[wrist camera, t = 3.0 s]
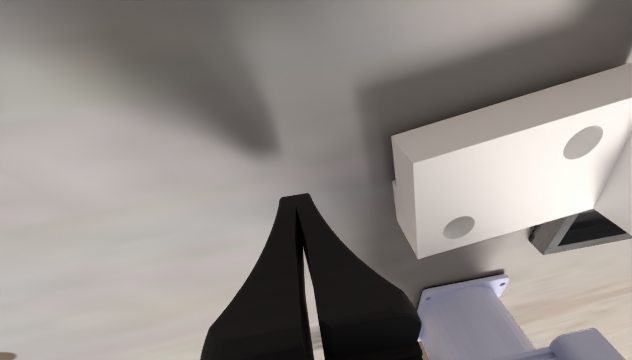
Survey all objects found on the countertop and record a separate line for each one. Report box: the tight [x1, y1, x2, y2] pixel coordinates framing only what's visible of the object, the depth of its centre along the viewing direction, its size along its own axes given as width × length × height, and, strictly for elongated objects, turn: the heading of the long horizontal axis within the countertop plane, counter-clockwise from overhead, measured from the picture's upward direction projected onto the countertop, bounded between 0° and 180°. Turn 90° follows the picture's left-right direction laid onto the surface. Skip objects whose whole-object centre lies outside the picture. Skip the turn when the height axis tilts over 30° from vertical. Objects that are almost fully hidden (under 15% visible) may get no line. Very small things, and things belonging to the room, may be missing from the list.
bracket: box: [391, 63, 632, 259], centre depth 14 cm, size 13×7×8 cm, turn 105°
